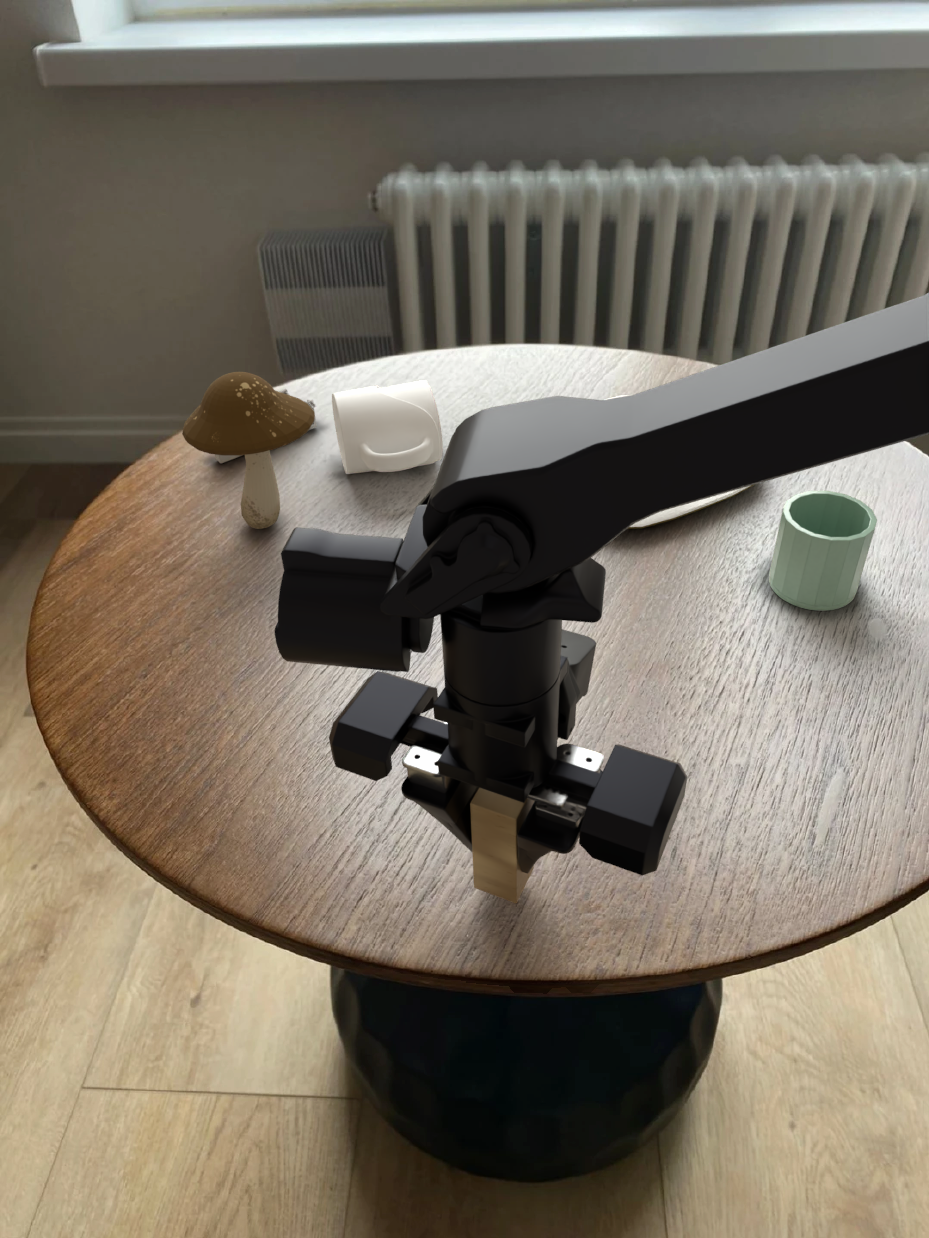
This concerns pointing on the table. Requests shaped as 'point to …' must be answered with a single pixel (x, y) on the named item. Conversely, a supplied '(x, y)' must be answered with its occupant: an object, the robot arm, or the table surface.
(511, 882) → the stick
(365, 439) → the mug
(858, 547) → the cup
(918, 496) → the table surface
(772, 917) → the table surface
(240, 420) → the mushroom
